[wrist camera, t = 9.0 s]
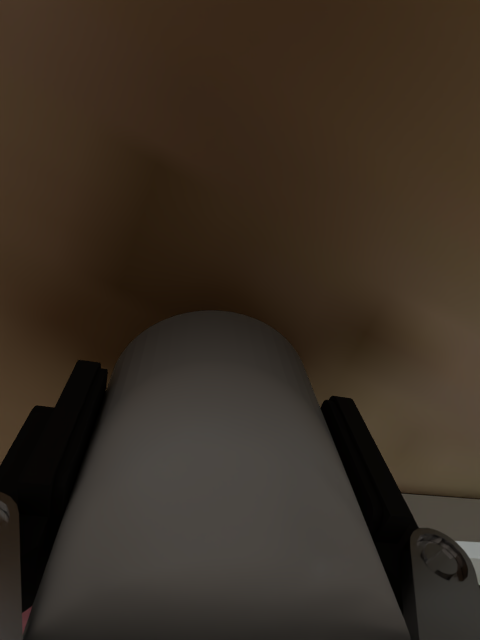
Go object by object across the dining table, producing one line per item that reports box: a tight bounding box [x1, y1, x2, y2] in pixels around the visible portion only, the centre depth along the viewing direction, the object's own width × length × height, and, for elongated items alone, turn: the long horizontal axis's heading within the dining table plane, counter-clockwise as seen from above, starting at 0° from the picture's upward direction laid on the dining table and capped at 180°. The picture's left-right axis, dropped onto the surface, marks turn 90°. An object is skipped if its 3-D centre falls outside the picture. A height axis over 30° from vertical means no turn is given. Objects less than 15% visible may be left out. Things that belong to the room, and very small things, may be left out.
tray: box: [402, 494, 480, 585], centre depth 20 cm, size 13×12×2 cm
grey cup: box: [23, 310, 411, 640], centre depth 9 cm, size 6×6×7 cm
